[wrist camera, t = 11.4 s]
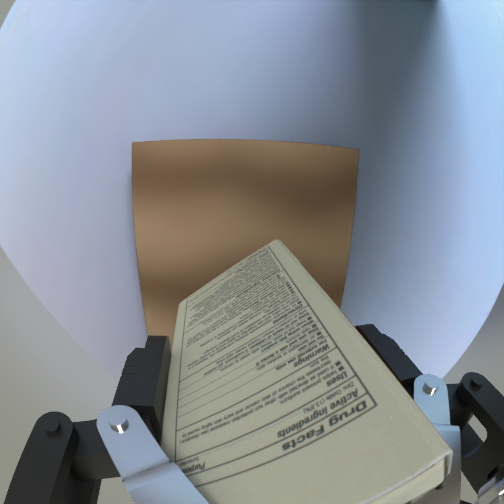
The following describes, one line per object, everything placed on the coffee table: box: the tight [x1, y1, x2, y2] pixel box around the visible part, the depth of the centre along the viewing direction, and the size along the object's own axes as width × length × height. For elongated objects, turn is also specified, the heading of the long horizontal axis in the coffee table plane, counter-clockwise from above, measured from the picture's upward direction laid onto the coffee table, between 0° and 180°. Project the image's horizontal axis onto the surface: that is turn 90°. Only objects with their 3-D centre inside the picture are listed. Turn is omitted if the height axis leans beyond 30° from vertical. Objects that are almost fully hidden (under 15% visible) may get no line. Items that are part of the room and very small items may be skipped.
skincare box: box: [161, 240, 453, 504], centre depth 9 cm, size 6×4×12 cm
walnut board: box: [132, 139, 359, 352], centre depth 17 cm, size 16×12×2 cm
